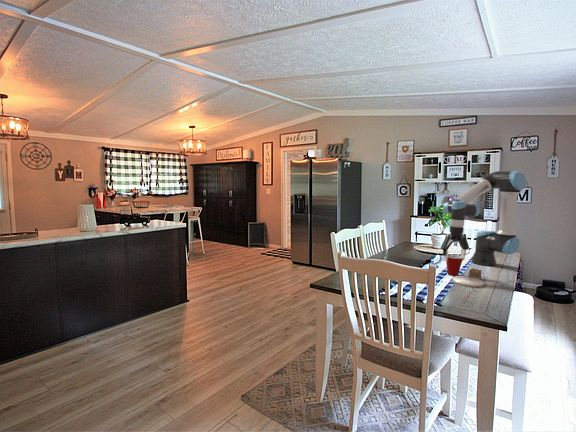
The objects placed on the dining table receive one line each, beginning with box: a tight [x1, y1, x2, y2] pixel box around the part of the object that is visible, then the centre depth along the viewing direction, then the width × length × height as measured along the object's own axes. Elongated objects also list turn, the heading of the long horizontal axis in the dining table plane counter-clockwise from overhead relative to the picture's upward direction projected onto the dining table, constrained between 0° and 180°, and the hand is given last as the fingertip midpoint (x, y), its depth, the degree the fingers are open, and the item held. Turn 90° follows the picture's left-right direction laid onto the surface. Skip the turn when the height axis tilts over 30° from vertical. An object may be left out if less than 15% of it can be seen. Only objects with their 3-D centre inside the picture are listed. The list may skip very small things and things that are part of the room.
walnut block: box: [468, 268, 482, 280], centre depth 206 cm, size 5×5×5 cm
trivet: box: [452, 275, 485, 288], centre depth 197 cm, size 16×16×2 cm
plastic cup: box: [445, 254, 465, 277], centre depth 212 cm, size 11×11×12 cm
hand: (453, 260), depth 211 cm, fingers open, 13 cm apart
